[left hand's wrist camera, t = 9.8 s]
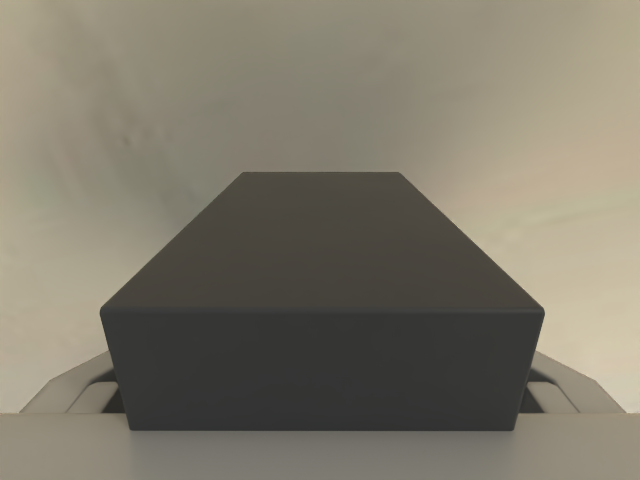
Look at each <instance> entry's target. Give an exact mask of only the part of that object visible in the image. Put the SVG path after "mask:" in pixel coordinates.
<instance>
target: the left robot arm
mask: <svg viewBox="0 0 640 480" xmlns="http://www.w3.org/2000/svg"><path fill="white" fill-rule="evenodd" d="M0 480H640V413H626V412H625V411H624V410H623V409H622V408H621V407H620V406H619V404H618V403H617V402H616V401H615V400H614V399H613V398H612V397H611V396H610V395H609V394H608V393H607V392H606V391H605V390H604V389H603V388H602V387H601V386H600V385H599V384H598V383H597V382H596V381H595V380H593V379H591V378H589V377H587V376H585V375H583V374H581V373H579V372H577V371H575V370H573V369H571V368H569V367H567V366H565V365H563V364H561V363H559V362H557V361H555V360H553V359H552V358H550V357H548V356H546V355H544V354H542V353H540V352H538V351H536V350H535V353H534V357H533V361H532V364H531V368H530V372H529V375H528V379H527V383H526V387H525V390H524V394H523V398H522V402H521V405H520V409H519V413H518V417H517V420H516V424H515V428H514V430H513V431H132V430H130V428H129V425H128V421H127V417H126V413H125V409H124V405H123V401H122V398H121V394H120V390H119V386H118V382H117V378H116V375H115V371H114V367H113V363H112V359H111V355H110V352H109V350H108V351H106V352H105V353H103V354H101V355H99V356H97V357H95V358H93V359H91V360H89V361H87V362H85V363H83V364H81V365H79V366H77V367H75V368H73V369H71V370H69V371H67V372H65V373H63V374H61V375H59V376H58V377H56V378H54V379H52V380H50V381H49V382H48V383H47V384H46V385H45V386H44V387H43V388H42V389H41V390H40V391H39V392H38V393H37V394H36V395H35V397H34V398H33V399H32V400H31V401H30V402H29V403H28V404H27V405H26V406H25V407H24V408H23V409H22V410H21V411H20V412H19V413H0Z"/></svg>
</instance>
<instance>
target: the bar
mask: <svg viewBox="0 0 640 480" xmlns="http://www.w3.org/2000/svg"><path fill="white" fill-rule="evenodd" d="M544 316H545V311H544V308H543V307H542V306H541V305H540V304H538V303H537V302H536V301H535V300H534V299H533V298H532V297H531V296H530V295H529V294H528V293H527V292H526V291H525V290H524V289H523V288H521V287H520V286H519V285H518V284H517V283H516V282H515V281H514V280H513V279H512V278H511V277H510V276H509V275H508V274H507V273H506V272H505V271H503V270H502V269H501V268H500V267H499V266H498V265H497V264H496V263H495V262H494V261H493V260H492V259H491V258H490V257H489V256H488V255H486V254H485V253H484V252H483V251H482V250H481V249H480V248H479V247H478V246H477V245H476V244H475V243H474V242H473V241H472V240H471V239H469V238H468V237H467V236H466V235H465V234H464V233H463V232H462V231H461V230H460V229H459V228H458V227H457V226H456V225H455V224H454V223H453V222H451V221H450V220H449V219H448V218H447V217H446V216H445V215H444V214H443V213H442V212H441V211H440V210H439V209H438V208H437V207H436V206H434V205H433V204H432V203H431V202H430V201H429V200H428V199H427V198H426V197H425V196H424V195H423V194H422V193H421V192H420V191H419V190H418V189H416V188H415V187H414V186H413V185H412V184H411V183H410V182H409V181H408V180H407V179H406V178H405V177H404V176H403V175H402V174H401V173H399V172H243V173H242V174H241V175H240V176H238V177H237V178H236V179H235V180H234V181H233V182H232V183H231V184H230V185H229V186H228V187H227V188H226V189H225V190H224V191H223V192H222V193H221V194H220V195H219V196H217V197H216V198H215V199H214V200H213V201H212V202H211V203H210V204H209V205H208V206H207V207H206V208H205V209H204V210H203V211H202V212H201V213H200V214H199V215H198V216H197V217H195V218H194V219H193V220H192V221H191V222H190V223H189V224H188V225H187V226H186V227H185V228H184V229H183V230H182V231H181V232H180V233H179V234H178V235H177V236H176V237H175V238H173V239H172V240H171V241H170V242H169V243H168V244H167V245H166V246H165V247H164V248H163V249H162V250H161V251H160V252H159V253H158V254H157V255H156V256H155V257H154V258H152V259H151V260H150V261H149V262H148V263H147V264H146V265H145V266H144V267H143V268H142V269H141V270H140V271H139V272H138V273H137V274H136V275H135V276H134V277H133V278H132V279H130V280H129V281H128V282H127V283H126V284H125V285H124V286H123V287H122V288H121V289H120V290H119V291H118V292H117V293H116V294H115V295H114V296H113V297H112V298H111V299H109V300H108V301H107V302H106V303H105V304H104V305H103V306H102V307H101V309H100V317H101V321H102V325H103V328H104V332H105V336H106V340H107V344H108V348H109V352H110V355H111V359H112V363H113V367H114V371H115V375H116V378H117V382H118V386H119V390H120V394H121V398H122V401H123V405H124V409H125V413H126V417H127V421H128V425H129V428H130V430H132V431H513V430H514V428H515V424H516V420H517V417H518V413H519V409H520V405H521V402H522V398H523V394H524V390H525V387H526V383H527V379H528V375H529V372H530V368H531V364H532V361H533V357H534V353H535V349H536V346H537V342H538V338H539V334H540V331H541V327H542V323H543V319H544Z"/></svg>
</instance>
